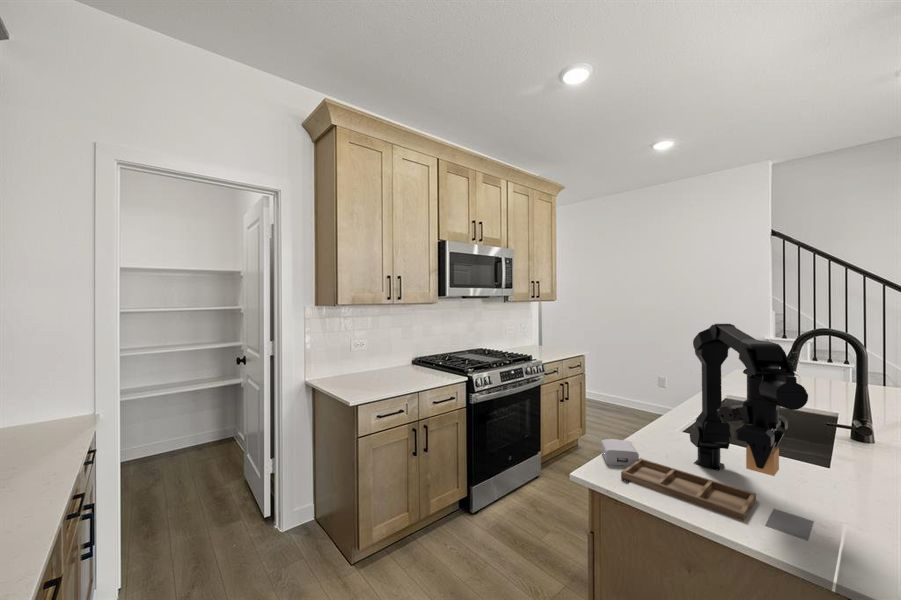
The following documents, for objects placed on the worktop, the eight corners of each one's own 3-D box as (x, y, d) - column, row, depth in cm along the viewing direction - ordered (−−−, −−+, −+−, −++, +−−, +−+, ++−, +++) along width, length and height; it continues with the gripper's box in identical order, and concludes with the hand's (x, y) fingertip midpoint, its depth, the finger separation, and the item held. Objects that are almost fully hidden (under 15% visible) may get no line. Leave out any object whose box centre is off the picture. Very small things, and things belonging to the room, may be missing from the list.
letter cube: (751, 462, 92) (751, 441, 92) (778, 469, 88) (778, 447, 88) (746, 468, 89) (746, 446, 89) (774, 476, 85) (773, 453, 85)
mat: (773, 510, 92) (773, 508, 92) (813, 523, 86) (813, 521, 86) (764, 528, 85) (764, 525, 85) (807, 543, 80) (807, 540, 80)
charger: (627, 447, 130) (638, 467, 115) (598, 445, 132) (606, 465, 117) (627, 433, 130) (638, 452, 115) (598, 432, 132) (606, 449, 117)
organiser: (640, 465, 116) (640, 458, 116) (756, 502, 95) (756, 493, 95) (621, 479, 108) (621, 471, 108) (743, 523, 87) (743, 514, 87)
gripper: (732, 385, 101) (732, 444, 101) (708, 397, 89) (708, 464, 89) (788, 393, 92) (788, 457, 92) (770, 408, 80) (770, 482, 80)
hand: (762, 464), depth 89 cm, fingers closed on letter cube, 5 cm apart
